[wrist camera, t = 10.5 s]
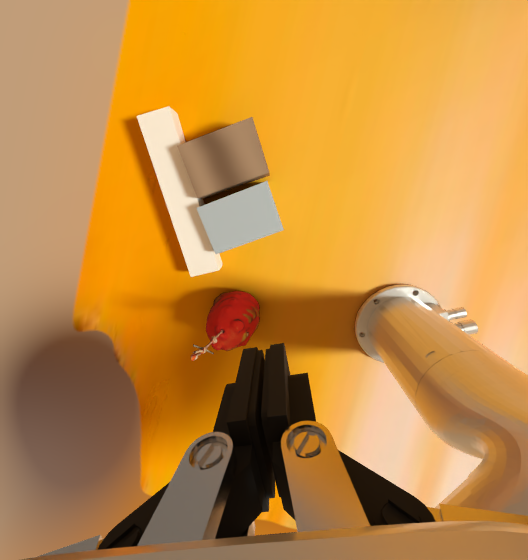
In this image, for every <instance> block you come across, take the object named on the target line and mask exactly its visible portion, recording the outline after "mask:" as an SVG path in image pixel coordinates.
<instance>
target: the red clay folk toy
mask: <svg viewBox="0 0 528 560" xmlns="http://www.w3.org/2000/svg"><path fill="white" fill-rule="evenodd" d="M259 309H260V307H259V303H258V302H257V300H256V299H255V298H254V297H253V296H252V295H250V294H249V293H246V292H243V291H233V292H229V293H222V294H220V295H219V296H218V297H217V298H216V299H215V300H214V304H213V307H212V308H211V310H210V312H209V315H208V317H207V323H206V332H207V334H208V337H209V339H210V341H211V342H210V343H209V344H208V345H207V346H206V347H199V346H196V345H194V344H193V347H196V348H200V349H201V350H200V349H199V350H197V351H194V352H193V354H192V355H191V360H192V361H194V360H196V359H197V357H198V356H199V355H200V354H204V353H205V352H206V351H207V352H210V353H211V354H214V353H213V352H211V351H209V350H207V348H208V347H209V345H210V344H211V345H212V347H213V348H214V349H216V350H221V349H222V350H226V351H229V350H232V349H234V348H237V347H240V346H244V345H246V344H247V342H248V341H249V339H250V337H251V336H252V334H253V333H254V331H255V330H256V329H257V327H258V323H259V322H260V318H259ZM196 353H197V354H196Z"/></svg>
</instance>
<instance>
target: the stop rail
mask: <svg viewBox="0 0 528 560" xmlns="http://www.w3.org/2000/svg"><path fill="white" fill-rule="evenodd" d="M137 119H138V122H139V125H140V128H141V131H142V134H143V137H144V140H145V143H146V146H147V149H148V152H149V155H150V158H151V160H152V163H153V166H154V169H155V172H156V175H157V178H158V181H159V184H160V187H161V190H162V193H163V196H164V199H165V202H166V205H167V208H168V211H169V214H170V217H171V220H172V223H173V226H174V229H175V232H176V235H177V238H178V241H179V244H180V246H181V249H182V252H183V255H184V258H185V261H186V264H187V267H188V270H189V273H190V276H191V277H193V276H198V275H202V274H206V273H210V272H214V271H218V270H220V268H221V267H222V265H223V264H222V261H221V258H220V254H219V253H218V254H215V252H214V249H213V247H212V244H211V242H210V240H209V237H208V235H207V232H206V230H205V228H204V225H203V223H202V220H201V218H200V216H199V213H198V211H197V208H198V207H200V206H203V205H205V204H204V201H203V198H197V196H196V194H195V191H194V189H193V186H192V183H191V181H190V178H189V176H188V173H187V170H186V168H185V165H184V163H183V160H182V157H181V155H180V152H179V150H178V147H177V146H178V145H180V144H183V143H186V141H185V138H184V134H183V131H182V128H181V124H180V121H179V118H178V114H177V113H176V112H175V111H174V110H173V109H171V108H170V107H169V106H168V107H165V108H162V109H158V110H155V111H152V112H148V113H145V114H142V115H139V116H137Z"/></svg>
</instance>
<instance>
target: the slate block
mask: <svg viewBox="0 0 528 560" xmlns="http://www.w3.org/2000/svg"><path fill="white" fill-rule="evenodd" d="M197 211H198V213H199V216H200V218H201V220H202V223H203V225H204V228H205V230H206V232H207V235H208V237H209V240H210V242H211V244H212V247H213V249H214V252H215V254H218V253H221V252H224V251H227V250H229V249H232V248H235V247H238V246H241V245H243V244H246V243H249V242H252V241H254V240H257V239H260V238H263V237H266V236H268V235H271V234H274V233H277V232H279V231H282V230H284V229H283V226H282V224H281V221H280V218H279V215H278V212H277V209H276V206H275V203H274V200H273V197H272V194H271V191H270V188H269V185H268V182H267V181H265V182H263V183H260V184H258V185H255V186H252V187H250V188H247V189H245V190H242V191H239V192H237V193H234V194H232V195H229V196H226V197H224V198H221V199H219V200H216V201H213V202H211V203H208V204H206V205H203V206H200V207H198V208H197Z"/></svg>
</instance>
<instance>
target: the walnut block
mask: <svg viewBox="0 0 528 560" xmlns="http://www.w3.org/2000/svg"><path fill="white" fill-rule="evenodd" d="M177 147H178V150H179V152H180V155H181V157H182V160H183V163H184V165H185V168H186V170H187V173H188V176H189V178H190V181H191V183H192V186H193V189H194V191H195V194H196V196H197V198H207V197H210V196H213V195H216V194H219V193H221V192H224V191H227V190H230V189H233V188H235V187H238V186H241V185H244V184H247V183H249V182H252V181H255V180H258V179H261V178H263V177H266V176H269V170H268V167H267V164H266V160H265V157H264V154H263V151H262V147H261V144H260V141H259V138H258V134H257V131H256V128H255V125H254V121H253V118H252V117H251V118H248V119H245V120H243V121H240V122H238V123H235V124H232V125H230V126H227V127H225V128H222V129H219V130H217V131H214V132H212V133H209V134H206V135H204V136H201V137H199V138H196V139H193V140H191V141H188V142H186V143H183V144H180V145H178V146H177Z"/></svg>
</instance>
